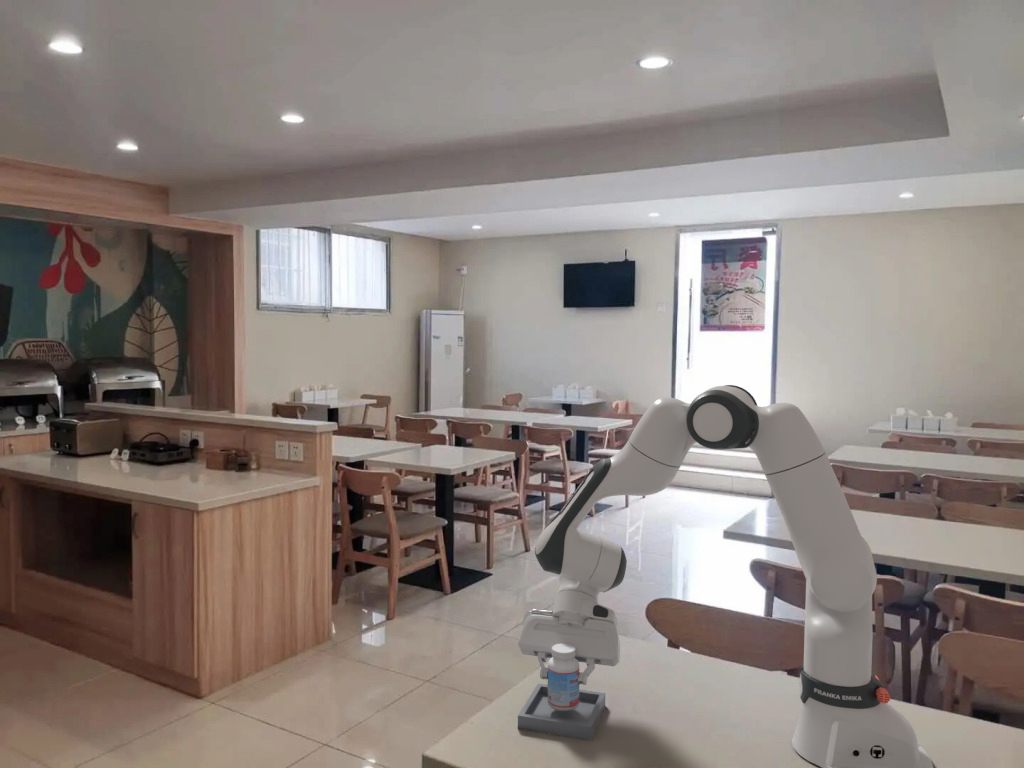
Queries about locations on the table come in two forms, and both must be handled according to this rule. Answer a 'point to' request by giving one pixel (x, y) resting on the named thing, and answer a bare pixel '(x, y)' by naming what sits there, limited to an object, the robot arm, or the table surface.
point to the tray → (562, 714)
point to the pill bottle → (563, 678)
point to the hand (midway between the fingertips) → (562, 680)
